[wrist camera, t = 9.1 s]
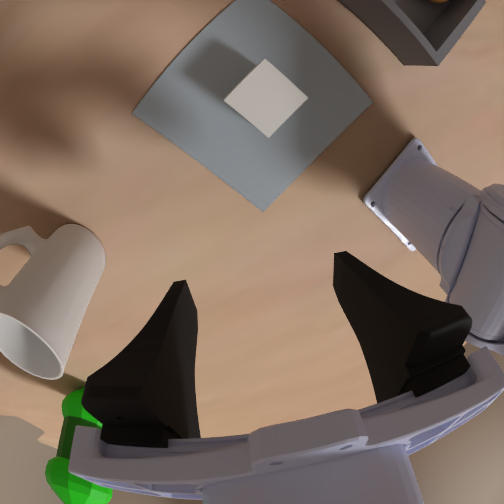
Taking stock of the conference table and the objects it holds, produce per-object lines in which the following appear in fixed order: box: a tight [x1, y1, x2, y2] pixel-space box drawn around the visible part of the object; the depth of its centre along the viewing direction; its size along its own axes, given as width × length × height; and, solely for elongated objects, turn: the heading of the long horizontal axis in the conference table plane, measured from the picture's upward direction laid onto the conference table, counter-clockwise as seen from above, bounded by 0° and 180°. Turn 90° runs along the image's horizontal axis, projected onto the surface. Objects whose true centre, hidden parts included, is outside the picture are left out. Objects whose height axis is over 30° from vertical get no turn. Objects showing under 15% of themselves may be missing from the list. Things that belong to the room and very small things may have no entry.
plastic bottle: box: [45, 388, 112, 504], centre depth 26 cm, size 10×10×25 cm
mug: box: [0, 224, 106, 380], centre depth 17 cm, size 10×7×12 cm, turn 32°
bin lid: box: [132, 0, 373, 212], centre depth 16 cm, size 13×13×5 cm
